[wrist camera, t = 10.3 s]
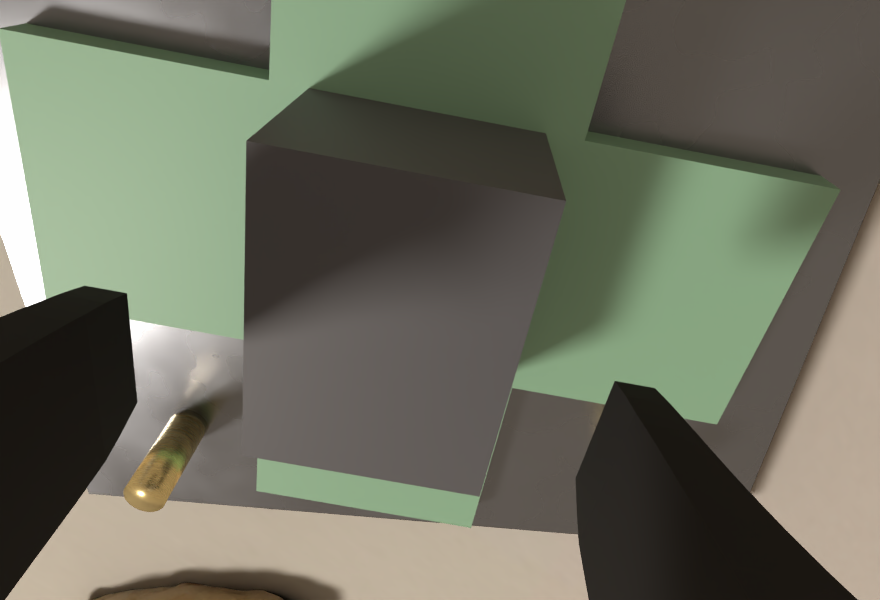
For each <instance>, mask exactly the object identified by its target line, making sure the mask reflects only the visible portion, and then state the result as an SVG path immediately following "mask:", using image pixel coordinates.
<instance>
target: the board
mask: <svg viewBox="0 0 880 600" xmlns="http://www.w3.org/2000/svg"><path fill="white" fill-rule="evenodd" d="M625 2H626V0H271V31H270V64H269V70H267V69H262V68H256V67H251V66H246V65H241V64H236V63H230V62H225V61H220V60H215V59H210V58H204V57H199V56H194V55H189V54H183V53H178V52H173V51H168V50H163V49H157V48H152V47H147V46H142V45H137V44H131V43H126V42H121V41H116V40H111V39H105V38H100V37H95V36H90V35H85V34H79V33H74V32H69V31H64V30H59V29H53V28H48V27H43V26H38V25H32V24H27V23H25V24H19V25H14V26H9V27H3V28H0V41H1V47H2V53H3V59H4V64H5V70H6V76H7V81H8V87H9V93H10V98H11V104H12V110H13V115H14V121H15V127H16V133H17V138H18V144H19V150H20V155H21V161H22V167H23V172H24V178H25V184H26V189H27V195H28V201H29V206H30V212H31V218H32V224H33V229H34V235H35V241H36V246H37V252H38V258H39V263H40V269H41V275H42V280H43V286H44V292H45V298H46V299H48V298H50V297H53V296H55V295H58V294H61V293H64V292H67V291H69V290H73V289H76V288H79V287H82V286H90V287H95V288H101V289H107V290H112V291H118V292H123V293H127V298H128V308H129V319H130V320H135V321H141V322H146V323H152V324H158V325H163V326H169V327H174V328H180V329H186V330H191V331H197V332H202V333H208V334H214V335H219V336H225V337H230V338H236V339H242V340H244V343H243V417H242V456H247V457H253V458H257V486H256V491H260V492H266V493H271V494H277V495H283V496H289V497H295V498H300V499H306V500H312V501H318V502H324V503H330V504H335V505H341V506H347V507H353V508H359V509H365V510H370V511H376V512H382V513H388V514H394V515H400V516H405V517H411V518H417V519H423V520H429V521H435V522H440V523H446V524H452V525H458V526H464V527H469V528H471V526H472V523H473V519H474V516H475V513H476V509H477V506H478V502H479V499H480V496H481V492H482V489H483V485H484V482H485V479H486V475H487V472H488V468H489V465H490V462H491V458H492V455H493V451H494V448H495V445H496V441H497V438H498V434H499V431H500V428H501V424H502V421H503V417H504V414H505V411H506V407H507V404H508V400H509V397H510V394H511V390H512V388H516V389H521V390H527V391H532V392H538V393H544V394H549V395H555V396H560V397H566V398H572V399H577V400H583V401H588V402H594V403H600V404H606V401H607V399H608V396H609V394H610V391H611V389H612V386H613V384H614V381H618V382H624V383H630V384H635V385H641V386H646V387H652V388H655V389H656V390H657V391H658V392H659V393H660V394H661V395H662V396H663V397H664V398H665V399H666V400H667V401H668V402H669V403H670V404H671V405H672V406H673V407H674V408H675V410H676V411H677V412H678V413H679V414H680V415H681V416H682V417H683V418H684V419H689V420H695V421H700V422H706V423H711V424H717V423H718V422H719V420H720V418H721V416H722V414H723V412H724V410H725V408H726V406H727V404H728V403H729V401H730V399H731V397H732V395H733V393H734V391H735V389H736V387H737V386H738V384H739V382H740V380H741V378H742V376H743V374H744V372H745V370H746V368H747V367H748V365H749V363H750V361H751V359H752V357H753V355H754V353H755V351H756V349H757V348H758V346H759V344H760V342H761V340H762V338H763V336H764V334H765V332H766V331H767V329H768V327H769V325H770V323H771V321H772V319H773V317H774V315H775V313H776V312H777V310H778V308H779V306H780V304H781V302H782V300H783V298H784V296H785V295H786V293H787V291H788V289H789V287H790V285H791V283H792V281H793V279H794V277H795V276H796V274H797V272H798V270H799V268H800V266H801V264H802V262H803V260H804V259H805V257H806V255H807V253H808V251H809V249H810V247H811V245H812V243H813V241H814V240H815V238H816V236H817V234H818V232H819V230H820V228H821V226H822V224H823V222H824V221H825V219H826V217H827V215H828V213H829V211H830V209H831V207H832V205H833V204H834V202H835V200H836V198H837V196H838V194H839V192H840V189H839V188H838V187H836V186H835V185H833V184H832V183H830V182H829V181H828V180H826V179H825V178H823V177H822V176H819V175H814V174H808V173H803V172H798V171H793V170H788V169H782V168H777V167H772V166H767V165H761V164H756V163H751V162H746V161H741V160H735V159H730V158H725V157H720V156H715V155H709V154H704V153H699V152H694V151H689V150H683V149H678V148H673V147H668V146H663V145H657V144H652V143H647V142H642V141H637V140H631V139H626V138H621V137H616V136H610V135H605V134H600V133H595V132H590V131H588V128H589V125H590V121H591V118H592V115H593V111H594V108H595V104H596V101H597V98H598V94H599V91H600V87H601V84H602V81H603V77H604V74H605V70H606V67H607V64H608V60H609V57H610V53H611V50H612V47H613V43H614V40H615V36H616V33H617V30H618V26H619V23H620V19H621V16H622V13H623V9H624V6H625Z"/></svg>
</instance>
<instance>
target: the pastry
mask: <svg viewBox="0 0 880 600" xmlns="http://www.w3.org/2000/svg"><path fill="white" fill-rule="evenodd" d="M94 600H283V599H282V598H280V597H279V596H277V595H274V594H271V593H268V592H266V591H264V590H248V591H239V590H232V589H228V588H220V587H210V586H206V585H202V584H196V583H180V584H179V585H178V586H175V587H157V588H151V589H136V590H129V591H123V592H118V593H114V594H108V595H104V596H102V597H100V598H97V599H94Z"/></svg>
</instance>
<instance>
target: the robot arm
mask: <svg viewBox="0 0 880 600" xmlns="http://www.w3.org/2000/svg"><path fill="white" fill-rule="evenodd" d="M136 404H137V391H136V381H135V370H134V360H133V350H132V339H131V329H130V319H129V308H128V298H127V293H123V292H118V291H112V290H107V289H101V288H95V287H90V286H82V287H79V288H76V289H73V290H69V291H67V292H64V293H61V294H58V295H55V296H53V297H50V298H48V299H45V300H42V301H40V302H37V303H35V304H32V305H30V306H27V307H25V308H22V309H20V310H17V311H15V312H12V313H10V314H7V315H5V316H3V317H0V600H5V599H6V597H7V596H8V595H9V593H10V592H11V591H12V589H13V588H14V587H15V585H16V584H17V582H18V581H19V580H20V578H21V577H22V576H23V574H24V573H25V572H26V570H27V569H28V568H29V566H30V565H31V563H32V562H33V561H34V559H35V558H36V557H37V555H38V554H39V553H40V551H41V550H42V548H43V547H44V546H45V544H46V543H47V542H48V540H49V539H50V538H51V536H52V535H53V534H54V532H55V531H56V529H57V528H58V527H59V525H60V524H61V523H62V521H63V520H64V519H65V517H66V516H67V514H68V513H69V512H70V510H71V509H72V508H73V506H74V505H75V504H76V502H77V501H78V499H79V498H80V497H81V495H82V494H83V492H84V491H85V490H86V488H87V487H88V485H89V484H90V483H91V481H92V480H93V479H94V477H95V476H96V474H97V473H98V472H99V470H100V469H101V467H102V466H103V464H104V463H105V462H106V460H107V458H108V456H109V454H110V453H111V451H112V449H113V447H114V446H115V444H116V442H117V440H118V439H119V437H120V435H121V433H122V431H123V429H124V427H125V425H126V424H127V422H128V420H129V418H130V416H131V414H132V412H133V410H134V408H135V406H136ZM575 480H576V504H577V523H578V538H579V546H580V552H581V558H582V564H583V570H584V575H585V581H586V586H587V592H588V598H589V600H857V599H856V598H855V597H854V596H853V595H852V594H851V593H850V592H849V591H848V590H847V589H846V588H844V587H843V586H842V585H841V584H840V583H839V582H838V581H837V580H836V579H835V578H834V577H833V576H832V575H831V574H830V573H829V572H828V571H826V570H825V569H824V568H823V567H822V566H821V565H820V564H819V563H818V562H817V561H816V560H815V559H814V558H813V557H812V556H811V555H810V554H809V553H808V552H807V551H806V550H805V549H804V548H803V547H802V546H801V545H800V544H799V543H798V542H797V541H796V540H795V539H794V538H793V537H792V536H791V535H790V534H789V533H788V532H787V531H786V530H785V529H784V528H783V527H782V526H781V525H780V524H779V523H778V522H777V520H776V519H775V518H774V517H773V516H772V515H771V514H770V513H769V512H768V511H767V510H766V509H765V508H764V507H763V506H762V505H761V504H760V503H759V502H758V501H757V499H756V498H755V497H754V496H753V495H752V494H751V493H750V492H749V491H748V490H747V489H746V488H745V486H744V485H743V484H742V483H741V482H740V481H739V480H738V479H737V478H736V477H735V476H734V474H733V473H732V472H731V471H730V470H729V469H728V468H727V467H726V466H725V464H724V463H723V462H722V461H721V460H720V459H719V458H718V457H717V456H716V454H715V453H714V452H713V451H712V450H711V449H710V448H709V447H708V445H707V444H706V443H705V442H704V441H703V440H702V439H701V438H700V436H699V435H698V434H697V433H696V432H695V431H694V430H693V429H692V427H691V426H690V425H689V424H688V423H687V422H686V421H685V420H684V418H683V417H682V416H681V415H680V414H679V413H678V412H677V411H676V410H675V408H674V407H673V406H672V405H671V404H670V403H669V402H668V401H667V400H666V399H665V398H664V397H663V396H662V395H661V394H660V393H659V392H658V391H657V390H656V389H655V388H652V387H646V386H641V385H635V384H630V383H624V382H618V381H614V384H613V386H612V389H611V391H610V394H609V396H608V399H607V401H606V404H605V406H604V409H603V411H602V414H601V416H600V419H599V421H598V424H597V426H596V429H595V431H594V434H593V436H592V439H591V441H590V443H589V446H588V448H587V451H586V453H585V456H584V458H583V461H582V463H581V466H580V468H579V471H578V473H577V476H576V478H575Z"/></svg>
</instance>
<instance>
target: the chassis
mask: <svg viewBox="0 0 880 600" xmlns="http://www.w3.org/2000/svg"><path fill="white" fill-rule="evenodd" d="M25 23H27V24H32V25H38V26H43V27H48V28H53V29H59V30H64V31H69V32H74V33H79V34H85V35H90V36H95V37H100V38H105V39H111V40H116V41H121V42H126V43H131V44H137V45H142V46H147V47H152V48H157V49H163V50H168V51H173V52H178V53H183V54H189V55H194V56H199V57H204V58H210V59H215V60H220V61H225V62H230V63H236V64H241V65H246V66H251V67H256V68H262V69H267V70H269V64H270V31H271V0H0V28H3V27H9V26H14V25H19V24H25ZM588 131H590V132H595V133H600V134H605V135H610V136H616V137H621V138H626V139H631V140H637V141H642V142H647V143H652V144H657V145H663V146H668V147H673V148H678V149H683V150H689V151H694V152H699V153H704V154H709V155H715V156H720V157H725V158H730V159H735V160H741V161H746V162H751V163H756V164H761V165H767V166H772V167H777V168H782V169H788V170H793V171H798V172H803V173H808V174H814V175H819V176H822V177H823V178H825V179H826V180H828V181H829V182H830V183H832V184H833V185H835V186H836V187H838V188H839V189H840V192H839V194H838V196H837V198H836V200H835V202H834V204H833V205H832V207H831V209H830V211H829V213H828V215H827V217H826V219H825V221H824V222H823V224H822V226H821V228H820V230H819V232H818V234H817V236H816V238H815V240H814V241H813V243H812V245H811V247H810V249H809V251H808V253H807V255H806V257H805V259H804V260H803V262H802V264H801V266H800V268H799V270H798V272H797V274H796V276H795V277H794V279H793V281H792V283H791V285H790V287H789V289H788V291H787V293H786V295H785V296H784V298H783V300H782V302H781V304H780V306H779V308H778V310H777V312H776V313H775V315H774V317H773V319H772V321H771V323H770V325H769V327H768V329H767V331H766V332H765V334H764V336H763V338H762V340H761V342H760V344H759V346H758V348H757V349H756V351H755V353H754V355H753V357H752V359H751V361H750V363H749V365H748V367H747V368H746V370H745V372H744V374H743V376H742V378H741V380H740V382H739V384H738V386H737V387H736V389H735V391H734V393H733V395H732V397H731V399H730V401H729V403H728V404H727V406H726V408H725V410H724V412H723V414H722V416H721V418H720V420H719V422H718V423H717V424H711V423H706V422H700V421H695V420H689V419H684V420H685V421H686V422H687V423H688V424H689V425H690V426H691V427H692V429H693V430H694V431H695V432H696V433H697V434H698V435H699V436H700V438H701V439H702V440H703V441H704V442H705V443H706V444H707V445H708V447H709V448H710V449H711V450H712V451H713V452H714V453H715V454H716V456H717V457H718V458H719V459H720V460H721V461H722V462H723V463H724V464H725V466H726V467H727V468H728V469H729V470H730V471H731V472H732V473H733V474H734V476H735V477H736V478H737V479H738V480H739V481H740V482H741V483H742V484H743V485H744V486H745V488H746V489H747V490H748V491H749V492H750V491H751V488H752V486H753V483H754V481H755V479H756V476H757V474H758V471H759V469H760V467H761V464H762V462H763V459H764V457H765V455H766V452H767V450H768V447H769V445H770V443H771V440H772V438H773V435H774V433H775V431H776V428H777V426H778V423H779V421H780V419H781V416H782V414H783V411H784V409H785V407H786V404H787V402H788V399H789V397H790V394H791V392H792V390H793V387H794V385H795V382H796V380H797V378H798V375H799V373H800V370H801V368H802V366H803V363H804V361H805V358H806V356H807V354H808V351H809V349H810V346H811V344H812V342H813V339H814V337H815V334H816V332H817V330H818V327H819V325H820V322H821V320H822V318H823V315H824V313H825V310H826V308H827V306H828V303H829V301H830V298H831V296H832V293H833V291H834V289H835V286H836V284H837V281H838V279H839V277H840V274H841V272H842V269H843V267H844V265H845V262H846V260H847V257H848V255H849V253H850V250H851V248H852V245H853V243H854V241H855V238H856V236H857V233H858V231H859V229H860V226H861V224H862V221H863V219H864V217H865V214H866V212H867V209H868V207H869V205H870V202H871V200H872V197H873V195H874V193H875V190H876V188H877V185H878V183H879V180H880V0H626V2H625V6H624V9H623V13H622V16H621V19H620V23H619V26H618V30H617V33H616V36H615V40H614V43H613V47H612V50H611V53H610V57H609V60H608V64H607V67H606V70H605V74H604V77H603V81H602V84H601V87H600V91H599V94H598V98H597V101H596V104H595V108H594V111H593V115H592V118H591V121H590V125H589V128H588ZM0 232H1V235H2V238H3V241H4V244H5V247H6V250H7V253H8V256H9V259H10V262H11V265H12V268H13V271H14V274H15V277H16V280H17V282H18V285H19V288H20V291H21V294H22V297H23V300H24V303H25V306H26V307H27V306H30V305H32V304H35V303H37V302H40V301H42V300H45V299H46V298H45V292H44V286H43V280H42V275H41V269H40V263H39V258H38V252H37V246H36V241H35V235H34V229H33V224H32V218H31V212H30V206H29V201H28V195H27V189H26V184H25V178H24V172H23V167H22V161H21V155H20V150H19V144H18V138H17V133H16V127H15V121H14V115H13V110H12V104H11V98H10V93H9V87H8V81H7V76H6V70H5V64H4V59H3V53H2V47H1V41H0ZM130 329H131V339H132V350H133V360H134V370H135V381H136V391H137V404H136V406H135V408H134V410H133V412H132V414H131V416H130V418H129V420H128V422H127V424H126V425H125V427H124V429H123V431H122V433H121V435H120V437H119V439H118V440H117V442H116V444H115V446H114V447H113V449H112V451H111V453H110V454H109V456H108V458H107V460H106V462H105V463H104V464H103V466H102V467H101V469H100V470H99V472H98V473H97V474H96V476H95V477H94V479H93V480H92V481H91V483H90V484H89V485H88V487H87V489H88V492H89V494H99V495H111V496H123V497H125V499H126V501H127V502H128V503H129V504H130V505H132V506H133V507H135V508H137V509H139V510H142V511H147V512H154V511H158V510H160V509H162V508H163V506H164V505H165V503H166V501H167V500H171V501H183V502H195V503H207V504H219V505H231V506H243V507H255V508H267V509H279V510H291V511H303V512H316V513H328V514H340V515H352V516H364V517H376V518H388V519H400V520H412V521H424V522H435V521H429V520H423V519H417V518H411V517H405V516H400V515H394V514H388V513H382V512H376V511H370V510H365V509H359V508H353V507H347V506H341V505H335V504H330V503H324V502H318V501H312V500H306V499H300V498H295V497H289V496H283V495H277V494H271V493H266V492H260V491H256V486H257V458H253V457H247V456H242V417H243V343H244V340H242V339H236V338H230V337H225V336H219V335H214V334H208V333H202V332H197V331H191V330H186V329H180V328H174V327H169V326H163V325H158V324H152V323H146V322H141V321H135V320H130ZM604 406H605V404H600V403H594V402H588V401H583V400H577V399H572V398H566V397H560V396H555V395H549V394H544V393H538V392H532V391H527V390H521V389H516V388H512V390H511V394H510V397H509V400H508V404H507V407H506V411H505V414H504V417H503V421H502V424H501V428H500V431H499V434H498V438H497V441H496V445H495V448H494V451H493V455H492V458H491V462H490V465H489V468H488V472H487V475H486V479H485V482H484V485H483V489H482V492H481V496H480V499H479V502H478V506H477V509H476V513H475V516H474V519H473V523H472V526H484V527H496V528H508V529H520V530H532V531H544V532H556V533H568V534H578V523H577V504H576V480H575V478H576V476H577V473H578V471H579V468H580V466H581V463H582V461H583V458H584V456H585V453H586V451H587V448H588V446H589V443H590V441H591V439H592V436H593V434H594V431H595V429H596V426H597V424H598V421H599V419H600V416H601V414H602V411H603V409H604ZM436 523H440V522H436Z"/></svg>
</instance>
